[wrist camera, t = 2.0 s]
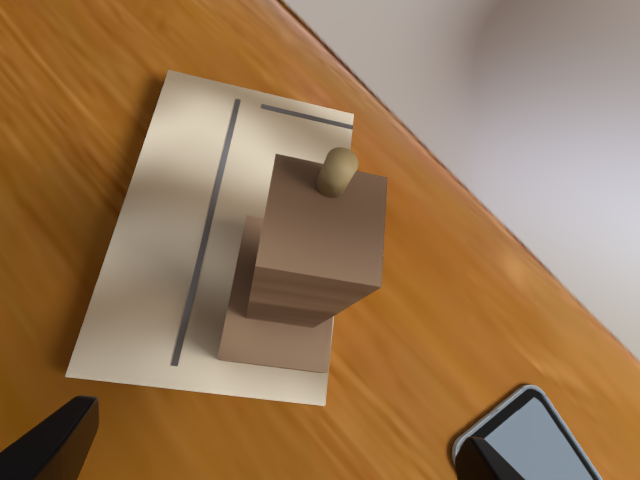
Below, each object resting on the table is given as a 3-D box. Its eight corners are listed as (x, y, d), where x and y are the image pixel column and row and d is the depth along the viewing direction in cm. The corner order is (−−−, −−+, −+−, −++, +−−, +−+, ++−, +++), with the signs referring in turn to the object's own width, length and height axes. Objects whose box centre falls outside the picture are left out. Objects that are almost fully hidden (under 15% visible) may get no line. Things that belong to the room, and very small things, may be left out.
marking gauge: (318, 372, 19) (437, 369, 8) (219, 360, 18) (193, 336, 7) (332, 245, 22) (437, 103, 10) (245, 229, 21) (257, 57, 10)
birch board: (318, 403, 20) (325, 406, 19) (77, 376, 18) (64, 376, 17) (347, 127, 26) (354, 113, 25) (172, 87, 25) (168, 69, 23)
